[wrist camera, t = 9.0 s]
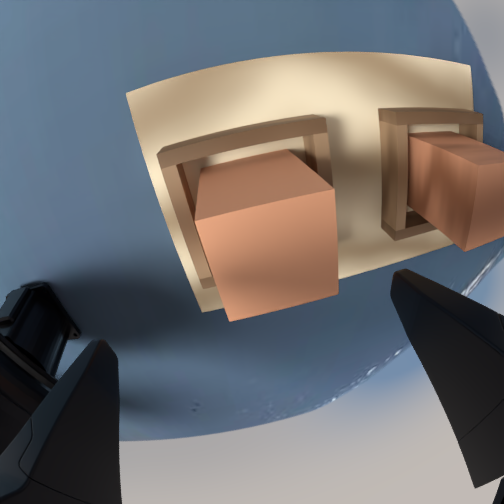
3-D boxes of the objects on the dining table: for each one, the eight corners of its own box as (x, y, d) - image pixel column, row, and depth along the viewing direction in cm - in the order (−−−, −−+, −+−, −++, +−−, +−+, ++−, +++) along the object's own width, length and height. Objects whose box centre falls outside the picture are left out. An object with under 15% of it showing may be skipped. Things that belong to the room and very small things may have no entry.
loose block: (297, 224, 18) (338, 293, 12) (221, 242, 18) (229, 321, 12) (286, 148, 16) (334, 188, 10) (200, 168, 16) (194, 221, 10)
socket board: (451, 233, 23) (508, 285, 15) (202, 299, 22) (204, 391, 15) (457, 64, 14) (540, 79, 7) (132, 93, 14) (67, 98, 7)
